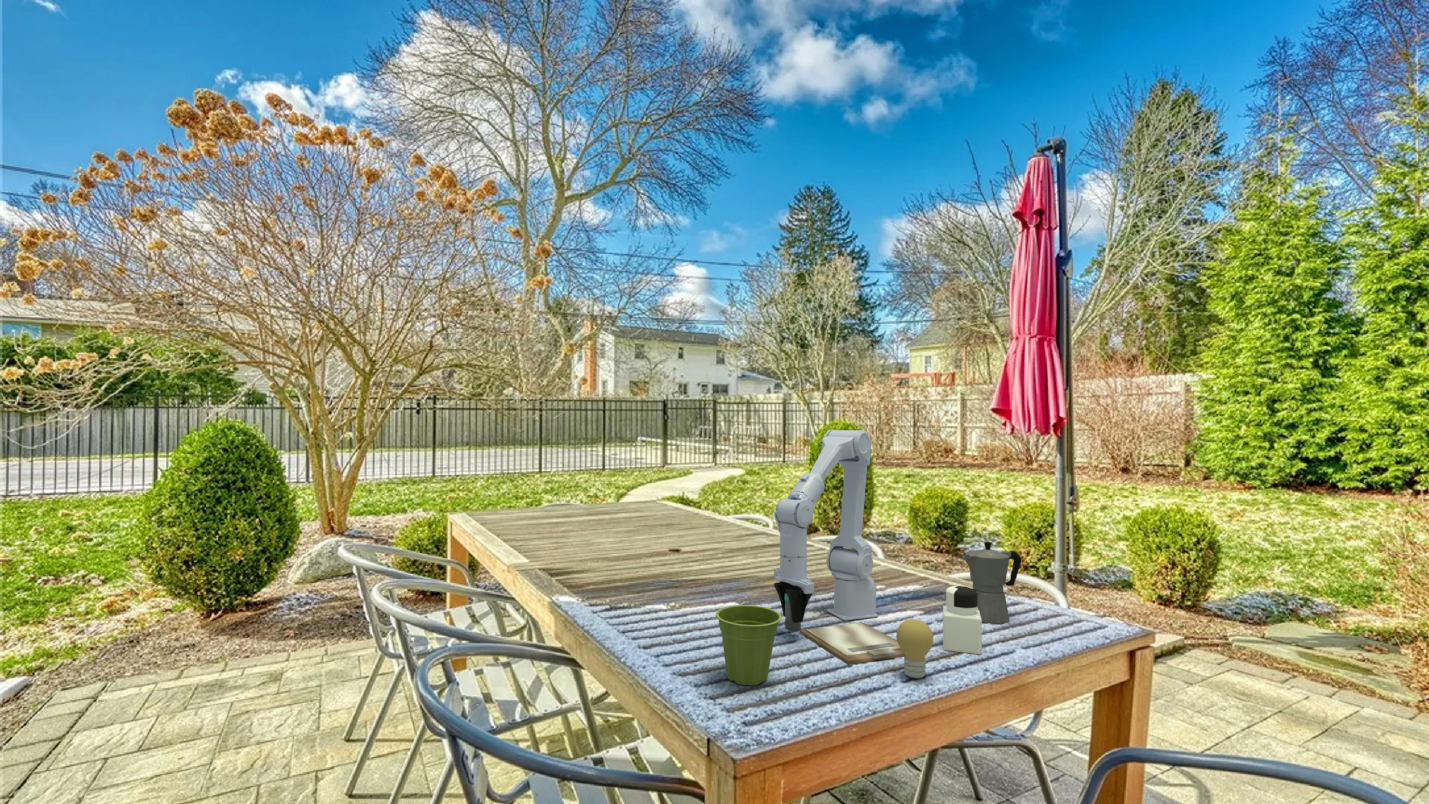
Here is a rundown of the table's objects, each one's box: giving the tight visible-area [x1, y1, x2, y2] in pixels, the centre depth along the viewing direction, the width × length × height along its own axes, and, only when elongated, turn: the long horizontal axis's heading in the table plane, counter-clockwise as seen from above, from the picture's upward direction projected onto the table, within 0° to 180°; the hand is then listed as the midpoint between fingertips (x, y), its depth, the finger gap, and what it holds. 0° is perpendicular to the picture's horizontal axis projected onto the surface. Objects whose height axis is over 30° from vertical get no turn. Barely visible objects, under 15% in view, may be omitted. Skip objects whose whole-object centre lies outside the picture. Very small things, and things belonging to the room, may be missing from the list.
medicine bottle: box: [942, 585, 983, 655], centre depth 128 cm, size 7×7×12 cm
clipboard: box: [799, 622, 905, 666], centre depth 129 cm, size 16×20×1 cm
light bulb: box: [896, 618, 934, 679], centre depth 113 cm, size 6×6×10 cm
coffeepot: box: [961, 541, 1022, 625], centre depth 148 cm, size 15×9×18 cm, turn 101°
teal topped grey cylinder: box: [784, 593, 802, 632], centre depth 133 cm, size 4×4×7 cm
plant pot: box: [715, 604, 783, 687], centre depth 111 cm, size 12×12×11 cm
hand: (793, 619), depth 133 cm, fingers closed on teal topped grey cylinder, 3 cm apart
